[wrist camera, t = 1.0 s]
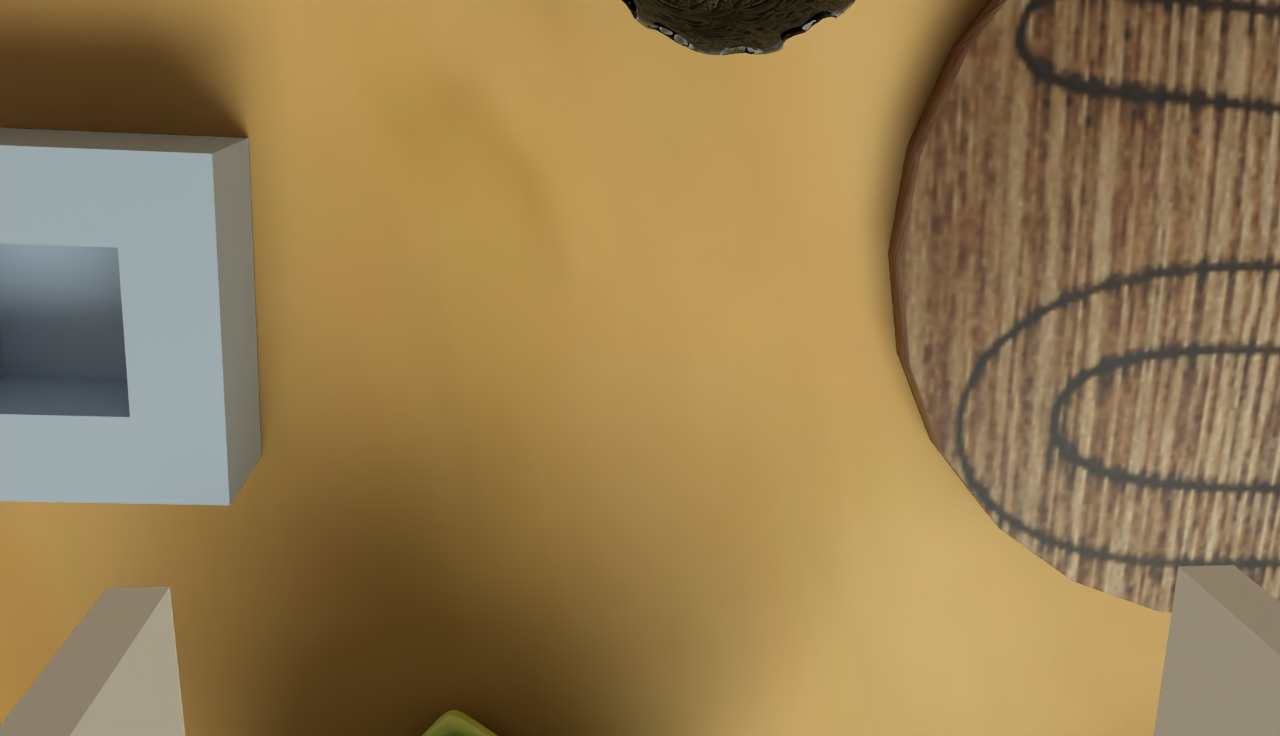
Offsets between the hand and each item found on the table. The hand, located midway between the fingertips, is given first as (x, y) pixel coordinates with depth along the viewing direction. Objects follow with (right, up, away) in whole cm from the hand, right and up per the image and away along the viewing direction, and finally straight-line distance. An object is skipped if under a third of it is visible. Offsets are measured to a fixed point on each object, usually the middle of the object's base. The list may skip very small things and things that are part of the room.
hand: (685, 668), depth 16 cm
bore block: (-17, +6, +21) cm, 28 cm away
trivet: (+20, +8, +24) cm, 32 cm away
